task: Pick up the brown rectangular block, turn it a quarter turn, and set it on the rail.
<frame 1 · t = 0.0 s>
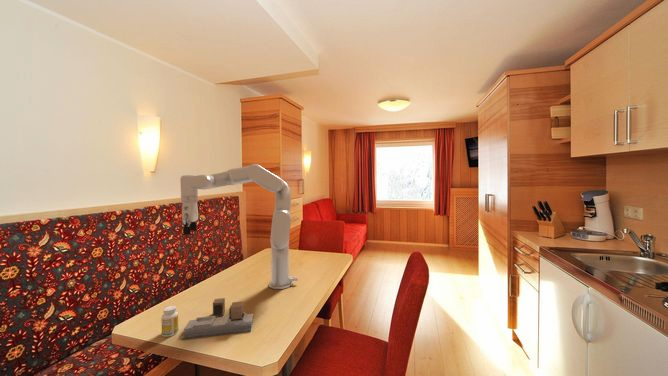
hand: (190, 232, 133), 31 cm above the table, fingers open, 9 cm apart
rail: (220, 327, 102), on the table
brown rectangular block: (219, 314, 112), on the table
supplement bottle: (170, 333, 99), on the table
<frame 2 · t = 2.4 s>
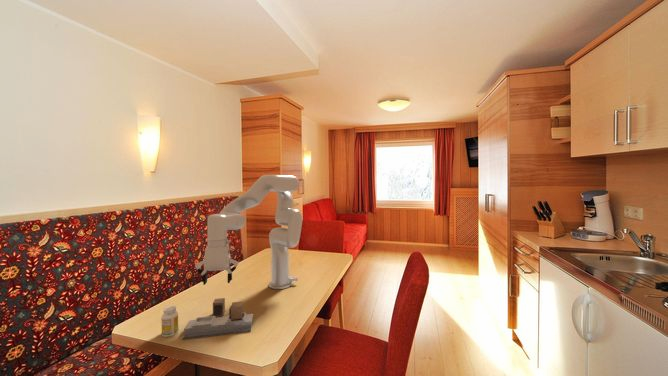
hand: (217, 282, 111), 14 cm above the table, fingers open, 9 cm apart
nothing on the table moved.
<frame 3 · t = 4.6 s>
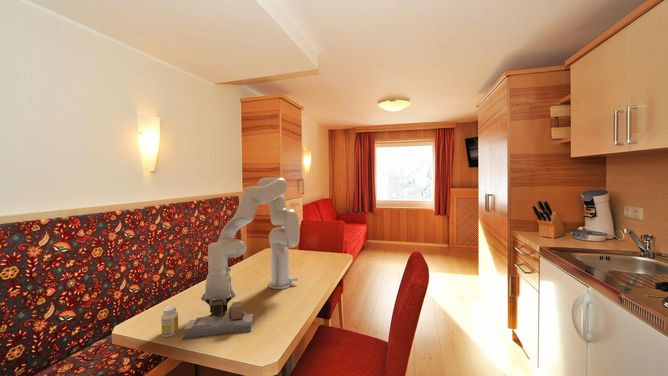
hand: (218, 312, 112), 1 cm above the table, fingers closed on brown rectangular block, 4 cm apart
brown rectangular block: (218, 314, 112), on the table, touching gripper
everything else where it was.
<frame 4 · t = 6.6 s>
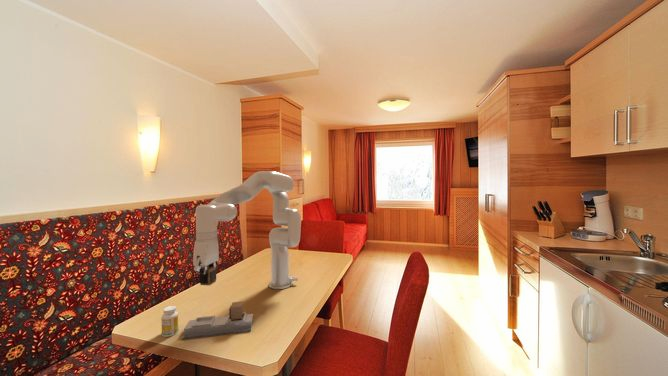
hand: (207, 280, 104), 18 cm above the table, fingers closed on brown rectangular block, 4 cm apart
brown rectangular block: (208, 283, 104), point 17 cm above the table, touching gripper
everything else where it was.
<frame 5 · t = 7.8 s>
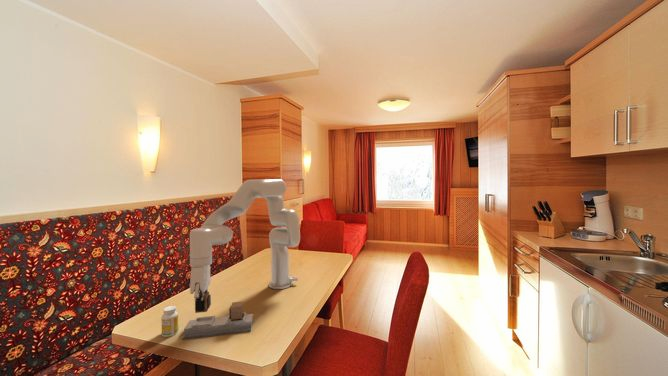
hand: (201, 307, 100), 9 cm above the table, fingers closed on brown rectangular block, 4 cm apart
brown rectangular block: (202, 309, 100), point 8 cm above the table, touching gripper
everything else where it was.
when the fingers open (5 cm above the table, at t = 8.9 s): brown rectangular block stays where it is, resting on rail.
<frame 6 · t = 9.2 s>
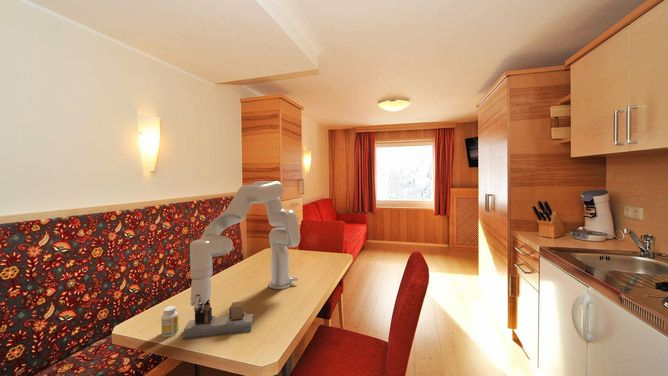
hand: (202, 317, 100), 5 cm above the table, fingers open, 6 cm apart
brown rectangular block: (203, 322, 100), point 3 cm above the table, touching rail
everything else where it was.
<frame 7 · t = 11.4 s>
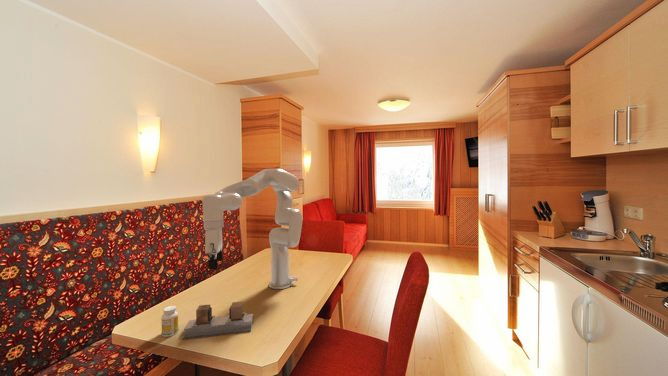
hand: (216, 264, 108), 23 cm above the table, fingers open, 9 cm apart
nothing on the table moved.
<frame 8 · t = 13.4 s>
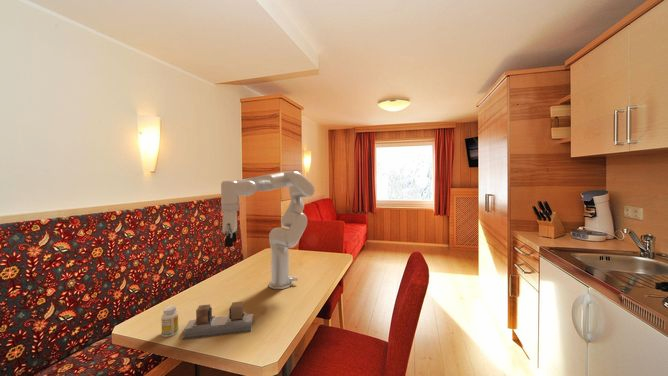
hand: (231, 244, 120), 28 cm above the table, fingers open, 9 cm apart
nothing on the table moved.
at the end: brown rectangular block 0.3 cm from the target spot on the rail, point 2.8 cm above the rail's base; brown rectangular block tilted 0°; the gripper is holding nothing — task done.
